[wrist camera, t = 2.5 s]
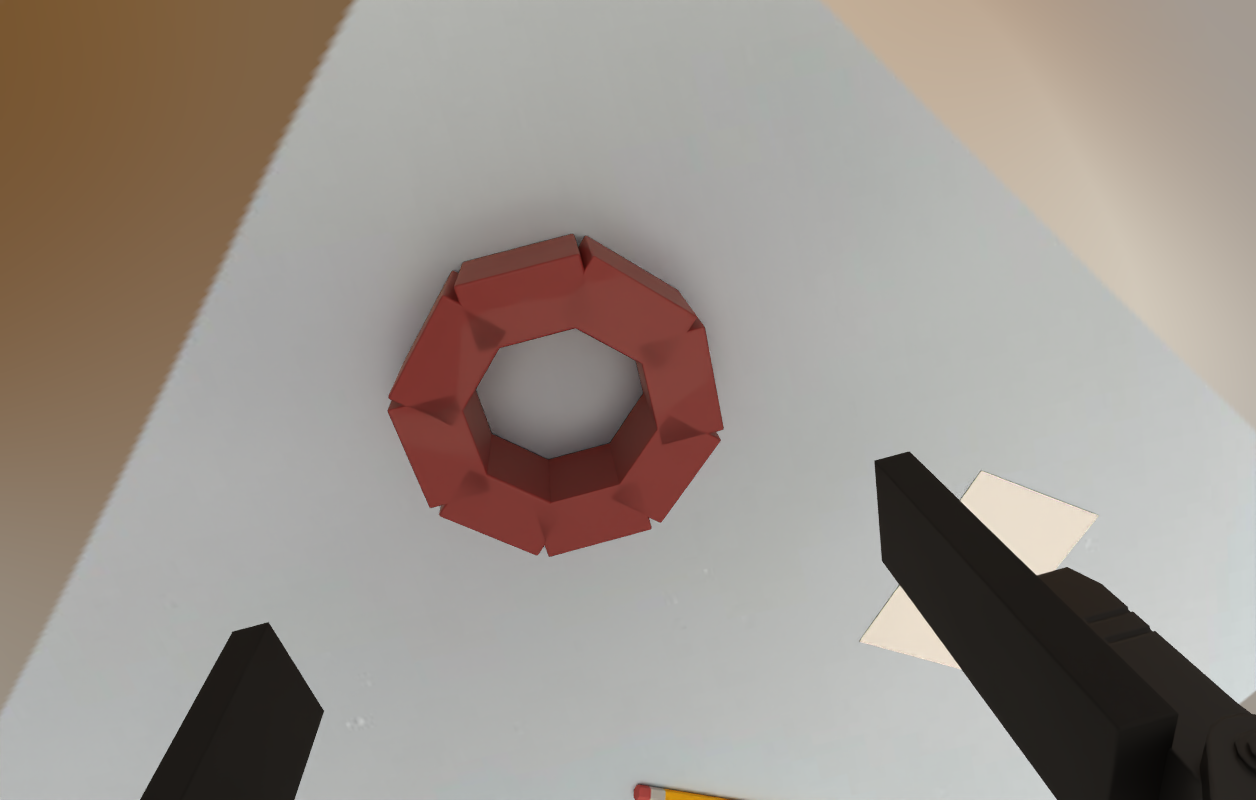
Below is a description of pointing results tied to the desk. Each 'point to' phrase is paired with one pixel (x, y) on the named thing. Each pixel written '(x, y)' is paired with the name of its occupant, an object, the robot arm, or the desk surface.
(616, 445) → the ring
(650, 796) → the pencil
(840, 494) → the desk surface
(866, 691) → the desk surface
